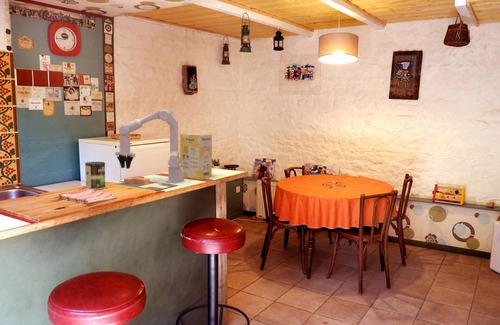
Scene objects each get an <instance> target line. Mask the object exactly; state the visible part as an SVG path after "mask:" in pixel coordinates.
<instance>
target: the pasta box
mask: <svg viewBox="0 0 500 325" xmlns="http://www.w3.org/2000/svg"><path fill="white" fill-rule="evenodd" d="M179 136H180V140H179V141H180V144H179V149H180V150H179V154H180V155H179V158H180V164H179V166H180V167H181V168H183V170H184V178H188V179H196V180H204V179H205V178H206V179H211V178H212V177H213V176H212V172H213V169H212V168H213V165H212V161H213V159H212V158H213V134H210V133H199V132H198V133H197V132H196V133H195V132H187V133H179ZM210 177H211V178H210Z"/></svg>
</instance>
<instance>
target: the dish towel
mask: <svg viewBox="0 0 500 325" xmlns="http://www.w3.org/2000/svg"><path fill="white" fill-rule="evenodd" d="M58 196H59V199H61V200H64V201H65V200H66V201H69V202H74V203H79V204H82V205H83V204H84V205H92V204H97V203H101V202H102V203H103V202H106V201H111V200H115V199H117V198H118V196H117V195H116V194H113V193H111V192H102V191H99V190H92V189H89V188H88V187H87V188H86V187H85V188H84V189H80V190H79V191H73V192H60V193H59V194H58Z"/></svg>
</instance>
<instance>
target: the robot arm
mask: <svg viewBox="0 0 500 325" xmlns="http://www.w3.org/2000/svg"><path fill="white" fill-rule="evenodd" d="M153 120H161V121H163V122H164V123H166V124H167V125H169V150H170V151H169V159H168V162H167V164H168V176H167V178H168V180H167V181H165V183H166V184H173V185H177V184H179V183H184V182H186V180H185V177H184V170H183V168H181V167H180V155H179V154H180V152H179V122H178V120H177V119H176V117H175V115H174V114H173V112H172V111H170V110H168V109H166V108H165V109H161V110H157V111H155V112H152V113H151V114H149V115H147V116H144V117H143V118H140V119H138V118H136V119H135V118H133V119H132V121H129V122H126V123H125V124H122V125H121V126H120V127H119V128H118V133H119V151H115V153H114V154H115V156H116V158H117V160H118V162H119V164H120V168H121V169H126V170H127V169H128V170H129V169H130V168H131V164H132V163H133V162H132V161H133V159H134V158H136V153H133V152H131V137H130V136H131V133H133V132H135V131H137V130H140V129H141V128H142V127H143V125H144V124H147V123H149V122H151V121H153Z"/></svg>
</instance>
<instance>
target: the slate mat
mask: <svg viewBox="0 0 500 325" xmlns="http://www.w3.org/2000/svg"><path fill="white" fill-rule="evenodd" d="M117 185H118V186H126V187H131V188H132V187H133V188H139V189H145V190H152V191H155V192H157V191H163V190H167V189H171V188H175V187H178V186H179V185H178V184H174V183H167V182H158V181H151V180H149V184H148V185H140V184H130V185H128V184H124V182H120V183H117Z"/></svg>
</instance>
